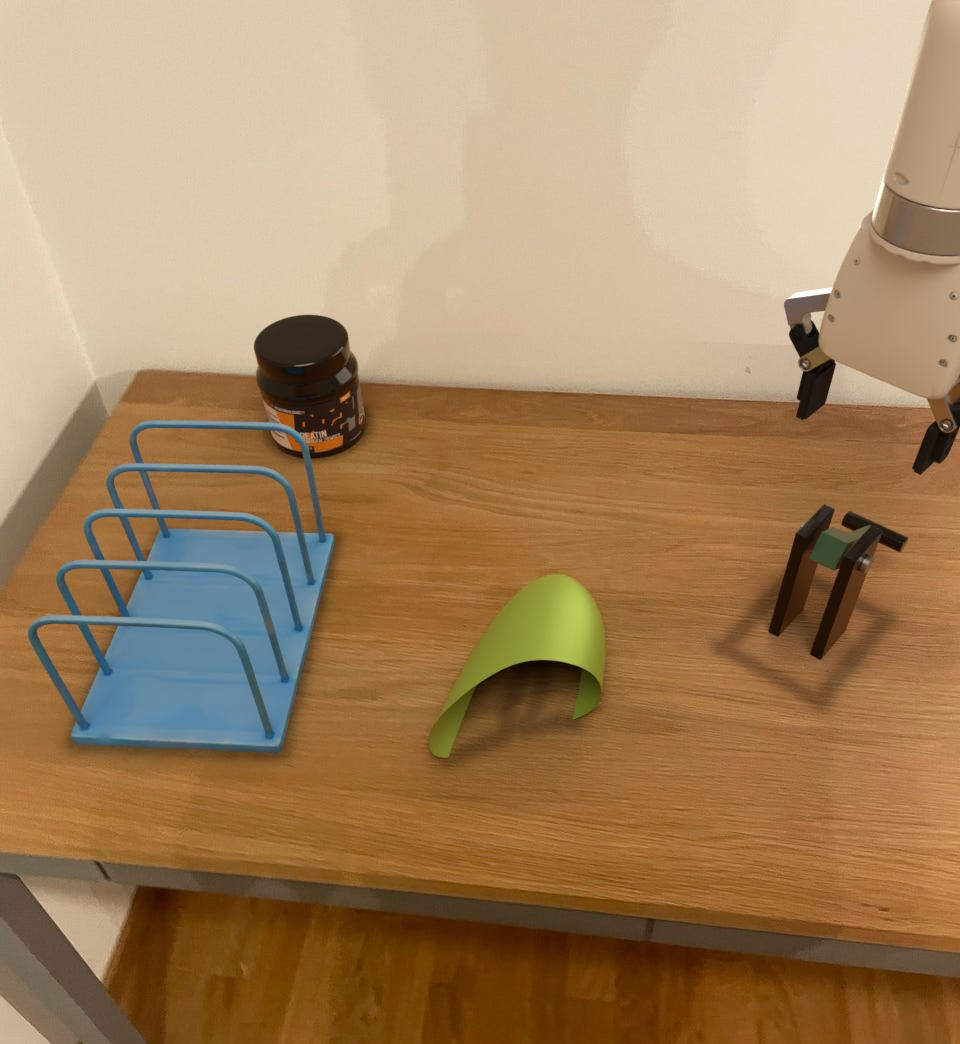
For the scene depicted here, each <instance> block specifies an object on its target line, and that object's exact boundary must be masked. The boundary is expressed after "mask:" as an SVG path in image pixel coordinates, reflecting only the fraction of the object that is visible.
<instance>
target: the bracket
mask: <svg viewBox="0 0 960 1044" xmlns="http://www.w3.org/2000/svg"><path fill="white" fill-rule="evenodd" d="M835 510H836V509H835V508H834V507H831V506H829V505H827V504H825V503H823V504H822V505H821V506H820V507H819V508H818V510H816V511H815V512H814V513H813V514H812V516H810V518H809V519H808V520H807V521H806V522H805V523H804V524H802V525H800V526H799V528H798V529H797V531H796V532H795V535H794V538H793V543H792V545H791V549H790V552H789V553H790V554H789V556H788V559H787V564H786V566H785V570H784V574H783V576H782V581H781V585H780V588H779V590H778V591H779V592H778V595H777V598H776V603H775V606H774V608H773V612H772V616H771V619H770V624H769V628H768V631H767V632H768V633H769V634H771V635H773V636H775V637H777V638H778V637H780V636H781V635H782V634H783V632H784V631H785V630H786V629H787V628H788V627H789V626H790V624H791V623H792V622H793V621H794V620H795V619H796V618H797V617H798V616H799V614H800V613H801V612H802V611H803V610H804V608H805V605H806V602H807V599H808V596H809V593H810V589H811V587H812V582H813V580H814V576H815V574H816V570H817V568H818V564H819V563H817V562H815V561H813V560H811V559H809V557H810V555H811V553H812V551H813V549H814V546H815V544H816V542H817V540H818V538H819V536H820V534H821V532H822V531H824V530H827V529H830V526H831V524H832V520H833V517H834V514H835ZM882 532H883V531H882V530H880V529H878V528H876V527H874V526H870V527H869V528H868V529H867V530H866V531H865V533H864V534H863V535H862V536H861V537H860V538H859V539H858V540H857V542H856V543H855V544H854V545H853V546H852V547H851V548H850V549H849V550H848V552H847V553H846V554H845V555H844V556H843V559H842V562H841V565H840V568H839V569H838V571H837V574H836V577H835V579H834V583H833V586H832V588H831V591H830V594H829V596H828V600H827V603H826V606H825V609H824V611H823V615H822V618H821V620H820V623H819V627H818V630H817V632H816V635H815V638H814V641H813V644H812V647H811V649H810V653H809V655H810V656H812V657H814V658H815V659H817V660H819V661H821V660H822V659H823V658H824V657H825V655H826V654H827V653H828V652H829V651H830V650H831V648H832V647H833V646H834V645H835V644H836V642H837V641H838V640H839V639H840V638H841V636H843V634H844V633H845V632H846V631H847V628H848V626H849V622H850V620H851V617H852V615H853V612H854V609H855V607H856V604H857V601H858V598H859V596H860V593H861V591H862V588H863V586H864V582H865V580H866V577H867V574H868V572H869V570H870V569H871V567H872V565H873V563H874V561H875V557H874V556H875V553H876V550H877V548H878V544H880V543H879V540H880V537H881V535H882Z"/></svg>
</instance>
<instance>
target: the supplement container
mask: <svg viewBox="0 0 960 1044" xmlns="http://www.w3.org/2000/svg"><path fill="white" fill-rule="evenodd" d="M253 352H254V355H255V356H254V357H255V360H256V363H257V367H256V371H255V381H256V384H257V387H258V388H259V390H260V395H261V399H262V403H263V406H264V411H265V415H266V419H267V422H268V423H279V424H283V425H286V426H289V427H291V428H292V429H294V430H296V431H297V432H298V433H300V435H301V436H302V437H303V438H304V439H305V441H306V443H307V445H308V448H309V453H310V457H311V460H315V459H324V458H330V457H333V456H336V455H339V454H341V453H343V452H346V451H348V450H349V449H351V448H352V447H354V446H355V445H356V444H358V443H359V442H360V441H361V439H362V438H363V437H364V435H365V433H366V430H367V417H366V413H365V408H364V401H363V396H362V389H361V383H360V377H359V363H358V359H357V357H356V356H355V354H354V352H352V350H351V345H350V338H349V333H348V330H347V329H346V327H345V326H344V325H343V324H342V323H341V322H339V321H338V320H336V319H334V318H332V317H328V316H325V315H319V314H299V315H292V316H288V317H284V318H281V319H279V320H276V321H274V322H272V323H270V324H269V325H267V326H266V327H264V328H263V329H262V330H261V331H260V332H259V333H258V335H257V336H256V337H255V340H254V342H253ZM269 434H270V438H271V440H272V443H273V444H274V445H275V446H276V448H277V449H278V450H279V451H281V452H282V453H284V454H286V455H288V456H291V457H295V458H299V459H304V457H303V453H302V449H301V447H300V445H299V443H298V442H297V441H296V440H295V439H294V438H293V437H291V436H290V435H288V434H285V433H283V432H279V431H273V430H269Z"/></svg>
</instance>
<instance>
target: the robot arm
mask: <svg viewBox="0 0 960 1044" xmlns="http://www.w3.org/2000/svg"><path fill="white" fill-rule="evenodd" d="M916 49H917V50H916V53H915V56H914V59H913V60H914V61H913V64H912V68H911V72H910V74H909V75H910V76H909V79H908V82H907V86H906V90H905V94H904V98H903V101H902V106H901V109H900V112H899V116H898V120H897V124H896V127H895V130H894V135H893V138H892V143H891V146H890V150H889V153H888V157H887V161H886V164H885V168H884V171H883V176H882V179H881V183H880V186H879V189H878V194H877V197H876V201H875V205H874V208H873V209H872V210H871V211H870V212H869V213H867V214H866V215H865V217H863V219H862V221H861V222H860V224H859V226H858V228H857V230H856V232H855V234H854V236H853V237H852V240H851V241H850V244H849V246H848V248H847V251H846V253H845V255H844V258H843V260H842V262H841V265H840V266H839V269H838V272H837V274H836V276H835V279H834V282H833V285H832V287H826V288H825V287H824V288H819V289H812V290H805V291H804V290H803V291H798V292H795V293H794V294H792V295H790V297H788V298H787V299H785V300H784V302H783V308H784V312H785V316H786V321H787V325H788V326H789V329H790V330H789V332H788V338H789V340H790V342H791V344H792V345H793V347H794V349H795V351H796V353H797V355H798V357H799V358H798V361H797V365H798V368H799V369H800V370H801V371H802V373H801V378H800V382H799V386H798V390H797V393H796V400H797V401H799V402H798V407H797V411H796V415H795V416H796V418H797V419H799V420H802V421H804V420H807V419H809V418H810V417H811V416H812V415H814V414H815V413H816V412H817V411H818V410H819V409H821V408H822V407H823V406H824V405H825V404H826V402H827V400H828V396H829V393H830V389H831V386H832V382H833V378H834V373H835V371H836V366H837V363H839V364H840V365H843V366H846V367H848V368H850V369H853V370H855V371H857V372H860V373H862V374H864V375H866V376H869V377H872V378H874V379H876V380H879V381H881V382H882V383H886V384H888V385H891V386H892V387H895V388H898V389H900V390H903V391H904V392H907V393H909V394H912V395H914V396H917V397H920V398H923V399H926V400H927V403H928V405H929V407H930V410H931V412H932V416H933V417H934V419H935V420H934V421H933V422H932V423H930V425H929V426H928V427H927V429H926V430H925V433H924V435H923V438H922V440H921V443H920V446H919V449H918V450H917V451H918V452H917V453H916V457H915V460H914V462H913V465H912V467H911V469H912V470H913V472H914V473H916V474H917V475H922V474H924V473H925V472H926V470H928V469H929V468H930V467H931V466H932V465H933V464H934V463H936V464H939V465H940V464H942V463H943V462H944V461H945V460H946V459H947V457H948V456H949V454H950V452H951V450H952V448H953V445H954V442H955V440H956V438H957V435H958V433H959V431H960V0H931V2H930V4H929V8H928V10H927V14H926V17H925V19H924V23H923V26H922V30H921V34H920V39H919V41H918V46H917V48H916ZM819 312H823V316H822V320H821V323H820V327H819V330H818V328H817V325H816V324H815V322H814V321H813V320H812V313H819ZM836 362H837V363H836Z"/></svg>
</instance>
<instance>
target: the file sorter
mask: <svg viewBox="0 0 960 1044" xmlns="http://www.w3.org/2000/svg"><path fill="white" fill-rule="evenodd" d="M148 429H199V430H200V429H202V430H203V429H204V430H248V431H249V430H250V431H270V430H273V431H279V432H283V433H285V434H288V435H290V436H291V437H293V438H294V439H295V440H296V441H297V442H298V443H299V445H300V447H301V449H302V453H303V457H304V458H303V462H304V466H305V471H306V475H307V480H308V487H309V493H310V498H311V501H312V507H313V513H314V517H315V523H316V528H317V532H304V528H303V524H302V520H301V517H300V512H299V508H298V502H297V500H296V496H295V492H294V489H293V486H292V485H291V483H290V482H289V480H288V479H287V478H286V477H285V476H284V475H282V474H281V473H280V472H278V471H276V470H274V469H273V468H268V467H265V466H261V465H243V464H241V465H240V464H206V463H205V464H204V463H203V464H202V463H201V464H200V463H159V462H158V463H154V462H151V463H150V462H149V463H148V462H147V463H144V459H143V457H142V455H141V451H140V448H139V445H138V441H137V437H138V435H139V433H141V432H142V431H144V430H148ZM129 446H130V450H131V453H132V455H133V459H134V461H135V462H128V463H127V462H126V463H122V464H119V465H117V466H115V467H114V468H112V469H111V470H110V472H109V474H108V475H107V478H106V488H107V491H108V494H109V497H110V499H111V501H112V504H113V506H114V508H101V509H97V510H95V511H92V512H91V513H89V514H88V515H87V517H86V519H85V521H84V523H83V534H84V537H85V539H86V541H87V544H88V546H89V548H90V550H91V553H92V555H93V558H94V559H74V560H70V561H67V562H66V563H64V564H63V565H61V566H60V568H59V569H58V571H57V572H56V576H55V582H56V586H57V588H58V590H59V593H60V594H61V596H62V598H63V601H64V602H65V604H66V606H67V608H68V610H69V612H70V614H47V615H43V616H40V617H38V618H36V619H35V620H34V621H32V623H30V626H29V627H28V630H27V638H28V640H29V643H30V645H31V648H32V649H33V651H34V652H35V654H36V655H37V657H38V659H39V661H40V662H41V665H42V667H43V668H44V669H45V671H46V673H47V674H48V677H49V678H50V680H51V682H52V683H53V685H54V687H55V688H56V690H57V692H58V693H59V695H60V697H61V698H62V701H63V702H64V704H65V705H66V707H67V709H68V711H70V714H71V715H72V717H73V719H74V720H75V723H74V725H73V728H72V730H71V732H70V737H71V739H72V741H73V743H74V744H75V745H77V746H100V747H101V746H104V747H105V746H106V747H122V748H123V747H125V748H147V749H148V748H149V749H150V748H151V749H173V750H175V749H176V750H197V751H198V750H199V751H221V752H222V751H223V752H244V753H245V752H246V753H247V752H248V753H266V754H267V753H268V754H269V753H270V754H279V753H281V752H282V751H283V747H284V743H285V740H286V736H287V731H288V729H289V728H288V727H289V724H290V720H291V716H292V712H293V708H294V705H295V700H296V696H297V693H298V692H297V691H298V688H299V686H300V680H301V677H302V674H303V673H302V672H303V668H304V665H305V661H306V656H307V653H308V650H309V646H310V643H311V638H312V634H313V629H314V627H315V621H316V618H317V614H318V610H319V606H320V603H321V598H322V596H323V595H322V594H323V590H324V586H325V583H326V578H327V575H328V571H329V566H330V563H331V558H332V554H333V550H334V547H335V544H336V539H335V534H333V533H331V532H330V533H329V532H328V533H326V532H325V526H324V520H323V514H322V509H321V506H320V505H321V504H320V500H319V499H320V498H319V495H318V489H317V484H316V478H315V472H314V468H313V462H312V459H311V457H310V453H309V448H308V445H307V443H306V441H305V439H304V438H303V437H302V436H301V435H300V433H298V432H297V431H296V430H294V429H292V428H291V427H289V426H286V425H283V424H279V423H268V421H267V422H265V421H263V422H262V421H232V420H231V421H230V420H229V421H228V420H226V421H224V420H219V421H218V420H176V419H175V420H172V419H171V420H169V419H156V420H155V419H152V420H144V421H142V422H140V423H137V424H136V426H134V427H133V428H132V431H131V432H130V436H129ZM127 472H139V475H140V477H141V480H142V483H143V485H144V489H145V491H146V494H147V496H148V499H149V502H150V505H151V507H152V509H149V508H147V509H146V508H145V509H144V508H124V505H123V503H122V501H121V498H120V497H119V494H118V491H117V488H116V486H115V479H116V477H117V476H119V475H120V474H124V473H127ZM148 472H153V473H158V472H159V473H207V474H208V473H211V474H215V473H216V474H218V473H219V474H246V475H248V474H249V475H250V474H251V475H260V476H264V477H268V478H270V479H272V480H274V481H276V482H277V483H278V484H280V485H281V487H283V489H284V491H285V494H286V496H287V500H288V505H289V508H290V512H291V516H292V519H293V525H294V528H295V531H294V532H293V531H277V530H276V529H275V528H274V526H273V525H272V524H270V523H269V522H268V521H266V520H265V519H263V518H261V517H260V516H257V515H254V514H252V513H248V512H239V511H237V512H236V511H216V510H215V511H214V510H183V509H161V507H160V505H159V502H158V499H157V496H156V493H155V490H154V488H153V485H152V483H151V480H150V477H149V474H148ZM102 518H103V519H104V518H119V521H120V523H121V525H122V527H123V531H124V533H125V535H126V537H127V540H128V542H129V544H130V546H131V548H132V551H133V553H134V556H135V559H136V560H124V559H123V560H122V559H121V560H120V559H119V560H114V559H112V560H111V559H105V557H104V553H102V550H101V548H100V546H99V543H98V541H97V538H96V536H95V534H94V532H93V528H92V525H93V523H94V522H95V521H97V520H99V519H102ZM129 518H136V519H137V518H146V519H148V518H149V519H156V521H157V524H158V526H159V530H158V533H157V535H156V538H155V540H154V542H153V544H152V546H151V548H150V552H149V554H148V556H147V559H145V556H144V555H143V554H144V553H143V552H142V549H141V547H140V544H139V543H138V539H137V537H136V535H135V532H134V530H133V527H132V525H131V522H130V520H129ZM165 519H180V520H181V519H184V520H209V521H210V520H212V521H237V522H245V523H249V524H253V525H255V526H257V527H259V528H260V529H262V530H236V529H235V530H233V529H232V530H231V529H203V528H202V529H201V528H199V529H197V528H168V526H167V524H166V521H165ZM263 530H264V531H263ZM79 569H88V570H89V569H90V570H91V569H95V570H97V569H98V570H100V573H101V575H102V576H103V579H104V581H105V583H106V585H107V587H108V589H109V592H110V594H111V595H112V598H113V600H114V602H115V604H116V606H117V608H118V611H119V613H120V615H121V616H106V615H105V616H104V615H102V616H101V615H82V612H81V611H80V609H79V607H78V605H77V603H76V600H75V599H74V597H73V595H72V592H71V591H70V588H69V586H68V584H67V582H66V578H65V575H66V574H67V573H68V572H70V571H72V570H79ZM110 570H136V571H141V572H140V575H139V577H138V579H137V582H136V584H135V586H134V589H133V590H132V593H131V595H130V597H129V600H128V602H127V604H125V601H124V600H123V598H122V595H121V593H120V591H119V588H118V586H117V583H116V582H115V579H114V578H113V577H114V576H113V575H112V573H111V571H110ZM47 625H77V627H78V629H79V631H80V632H81V634H82V636H83V638H84V640H85V642H86V644H87V645H88V647H89V649H90V650H91V652H92V654H93V657H94V659H95V660H96V662H97V664H98V666H99V669H98V670H97V673H96V676H95V677H94V679H93V682H92V684H91V687H90V690H89V691H88V693H87V695H86V698H85V701H84V703H83V705H82V707H81V710H80V708H79V706H78V704H77V702H76V701H75V699H74V697H73V696H72V694H71V692H70V691H69V689H68V687H67V685H66V683H65V682H64V680H63V678H62V677H61V675H60V674H59V672H58V670H57V667H56V666H55V665H54V662H53V661H52V659H51V658H50V656H49V654H48V653H47V650H46V648H45V646H44V645H43V643H42V641H41V639H40V637H39V635H38V629H39V628H41V627H43V626H47ZM89 626H107V627H109V626H112V627H115V626H117V627H116V629H115V632H114V634H113V637H112V638H111V641H110V644H109V646H108V647H107V649H106V653H105V655H104V654H103V652H102V650H101V648H100V646H99V645H98V643H97V641H96V639H95V637H94V635H93V633H92V631H91V629H90V627H89Z"/></svg>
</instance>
